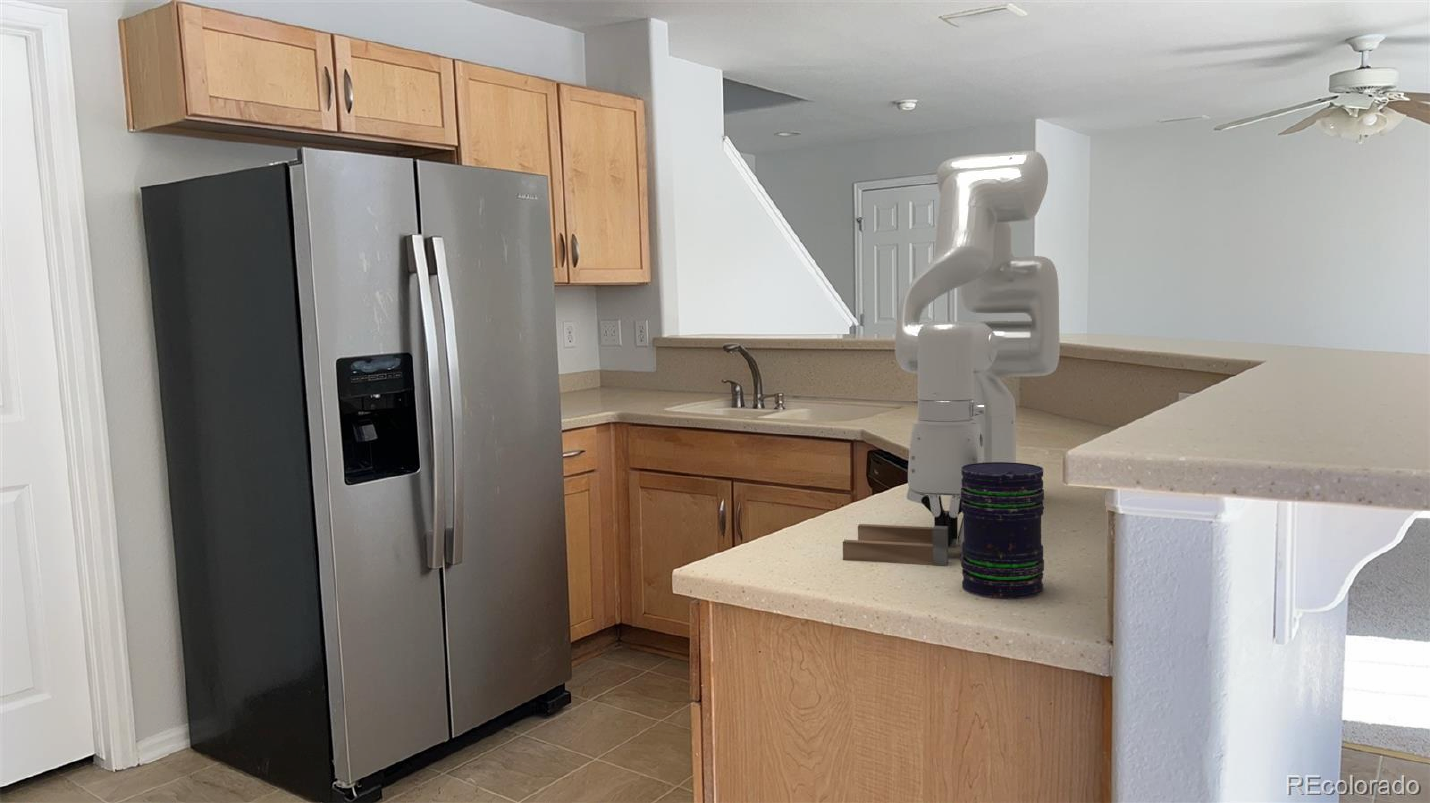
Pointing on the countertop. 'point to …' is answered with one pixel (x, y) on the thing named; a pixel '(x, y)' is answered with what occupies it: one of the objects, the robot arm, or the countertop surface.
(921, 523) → the countertop surface
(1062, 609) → the countertop surface
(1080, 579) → the countertop surface
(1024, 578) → the dark blue cylinder
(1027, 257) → the robot arm
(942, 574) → the countertop surface
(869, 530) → the chute
